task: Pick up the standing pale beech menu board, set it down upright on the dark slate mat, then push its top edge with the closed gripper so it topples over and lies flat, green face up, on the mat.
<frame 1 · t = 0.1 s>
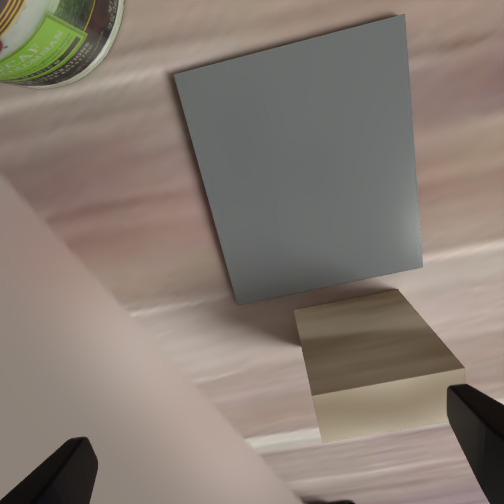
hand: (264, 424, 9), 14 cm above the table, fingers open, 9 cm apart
slate mat: (308, 178, 21), on the table
beech board: (347, 318, 24), on the table
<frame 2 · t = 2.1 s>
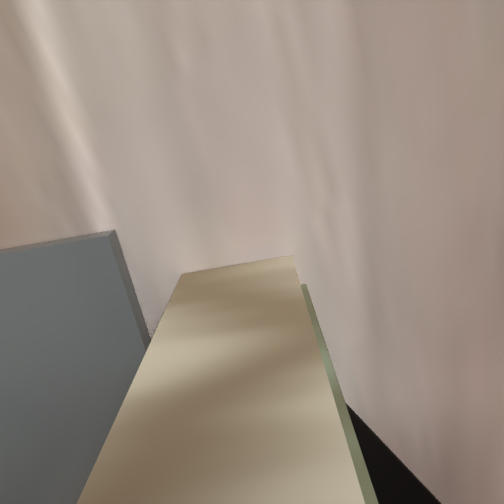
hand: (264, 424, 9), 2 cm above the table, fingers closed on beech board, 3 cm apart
beech board: (258, 370, 11), on the table, touching gripper
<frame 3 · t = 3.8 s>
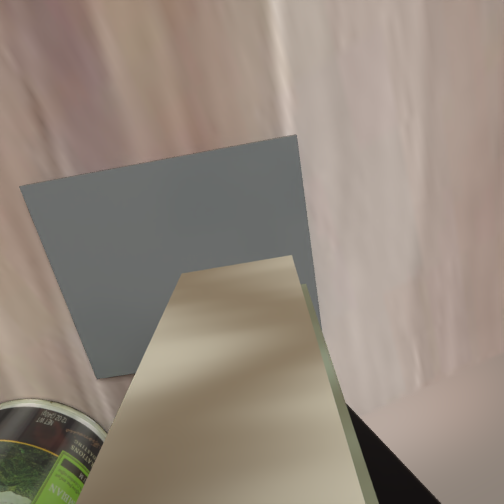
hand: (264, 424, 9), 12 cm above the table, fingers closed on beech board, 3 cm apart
slate mat: (185, 268, 20), on the table
beech board: (258, 370, 11), point 10 cm above the table, touching gripper
coffee can: (46, 452, 25), on the table
when the fingers open (3 cm above the table, at t = 5.5 s): beech board stays where it is, resting on slate mat.
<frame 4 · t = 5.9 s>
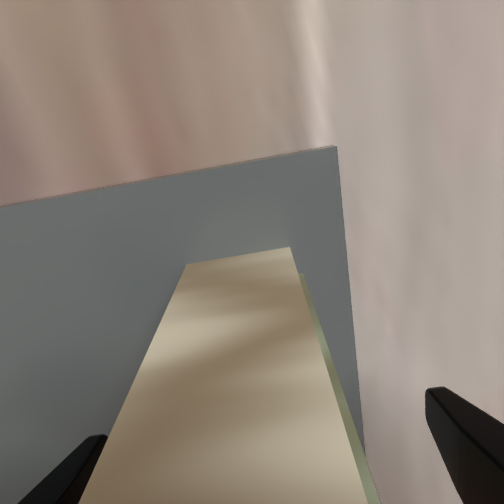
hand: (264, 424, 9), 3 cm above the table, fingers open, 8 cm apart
slate mat: (143, 365, 12), on the table
beech board: (258, 356, 11), resting on slate mat
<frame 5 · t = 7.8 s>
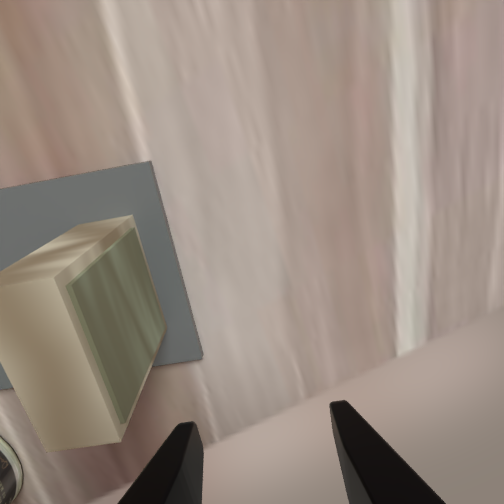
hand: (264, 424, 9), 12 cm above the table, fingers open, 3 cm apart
slate mat: (62, 286, 21), on the table
beech board: (125, 279, 20), resting on slate mat
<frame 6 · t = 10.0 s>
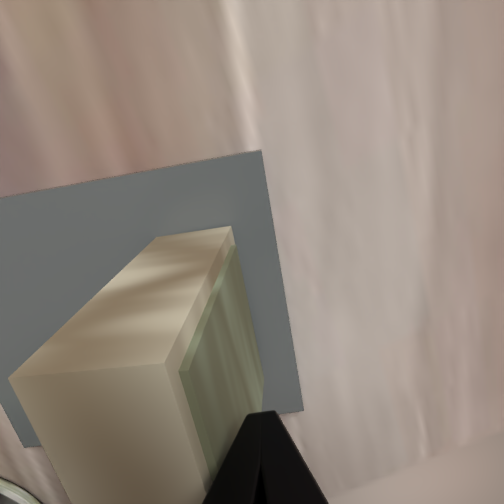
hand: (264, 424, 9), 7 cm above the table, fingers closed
slate mat: (127, 317, 16), on the table
beech board: (212, 310, 15), point 1 cm above the table, touching gripper, slate mat
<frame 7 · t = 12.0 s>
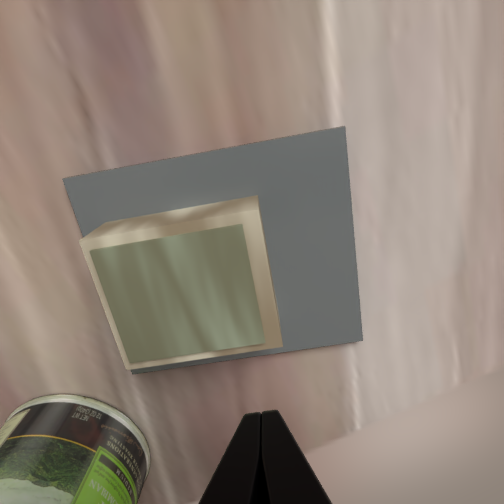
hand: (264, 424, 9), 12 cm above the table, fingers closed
slate mat: (225, 262, 20), on the table
beech board: (270, 270, 18), point 2 cm above the table, tilted 90°, touching slate mat
coffee can: (77, 448, 25), on the table
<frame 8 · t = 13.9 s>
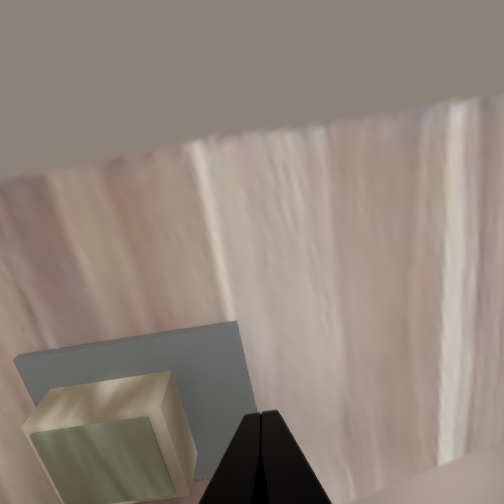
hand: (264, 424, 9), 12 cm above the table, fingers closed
slate mat: (151, 413, 24), on the table
beech board: (181, 432, 22), point 2 cm above the table, tilted 90°, touching slate mat
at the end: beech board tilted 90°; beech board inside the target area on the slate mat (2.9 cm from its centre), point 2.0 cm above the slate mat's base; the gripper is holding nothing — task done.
